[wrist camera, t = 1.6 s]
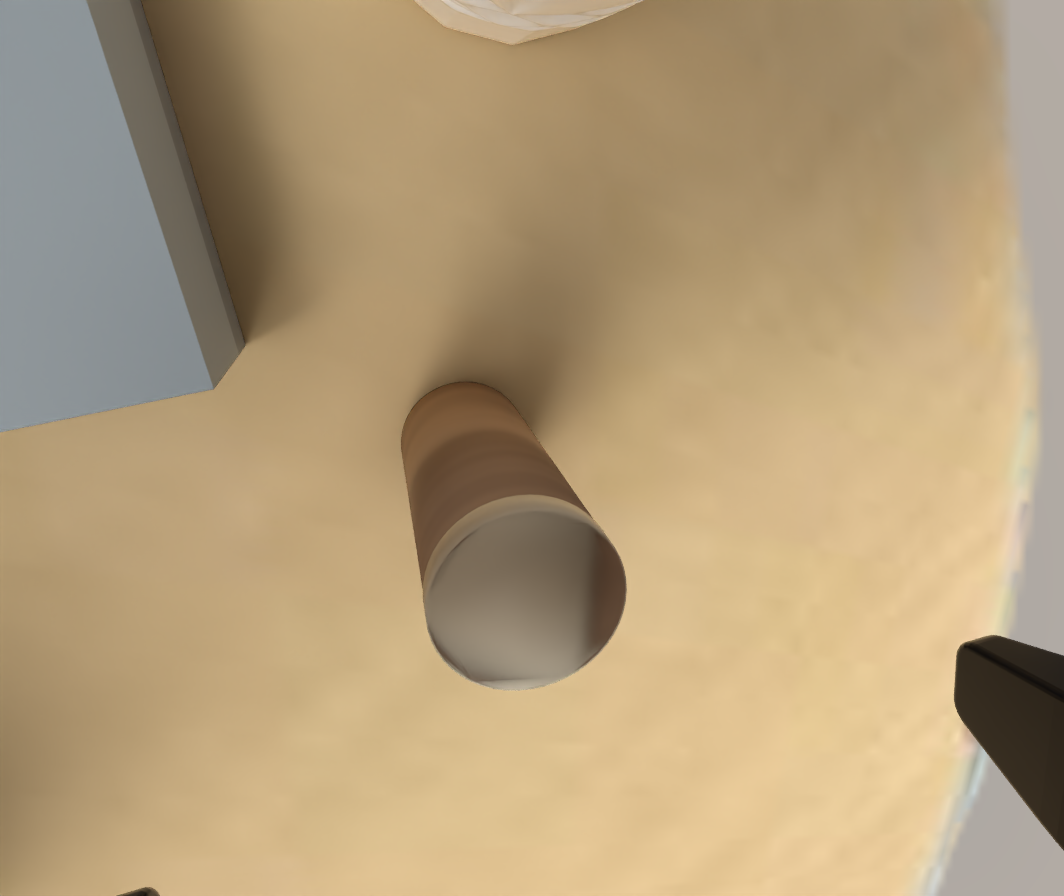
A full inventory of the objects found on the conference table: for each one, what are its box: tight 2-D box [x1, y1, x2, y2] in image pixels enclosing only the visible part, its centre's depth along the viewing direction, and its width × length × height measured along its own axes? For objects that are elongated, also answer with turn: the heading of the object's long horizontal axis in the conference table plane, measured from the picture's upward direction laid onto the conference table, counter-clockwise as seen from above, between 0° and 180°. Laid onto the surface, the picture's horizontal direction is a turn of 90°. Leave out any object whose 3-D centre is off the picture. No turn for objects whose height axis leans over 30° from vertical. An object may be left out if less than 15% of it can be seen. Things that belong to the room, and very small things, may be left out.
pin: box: [401, 382, 627, 690], centre depth 15 cm, size 3×3×8 cm
